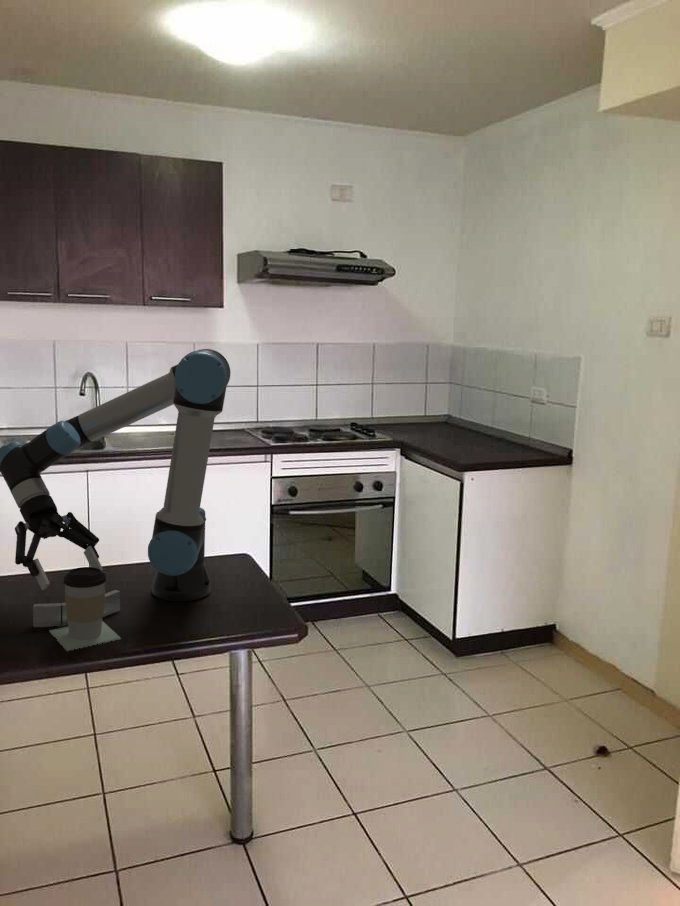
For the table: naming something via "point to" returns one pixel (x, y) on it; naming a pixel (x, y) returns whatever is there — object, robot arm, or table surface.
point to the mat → (72, 644)
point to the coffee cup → (84, 602)
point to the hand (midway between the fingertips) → (73, 579)
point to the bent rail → (57, 611)
